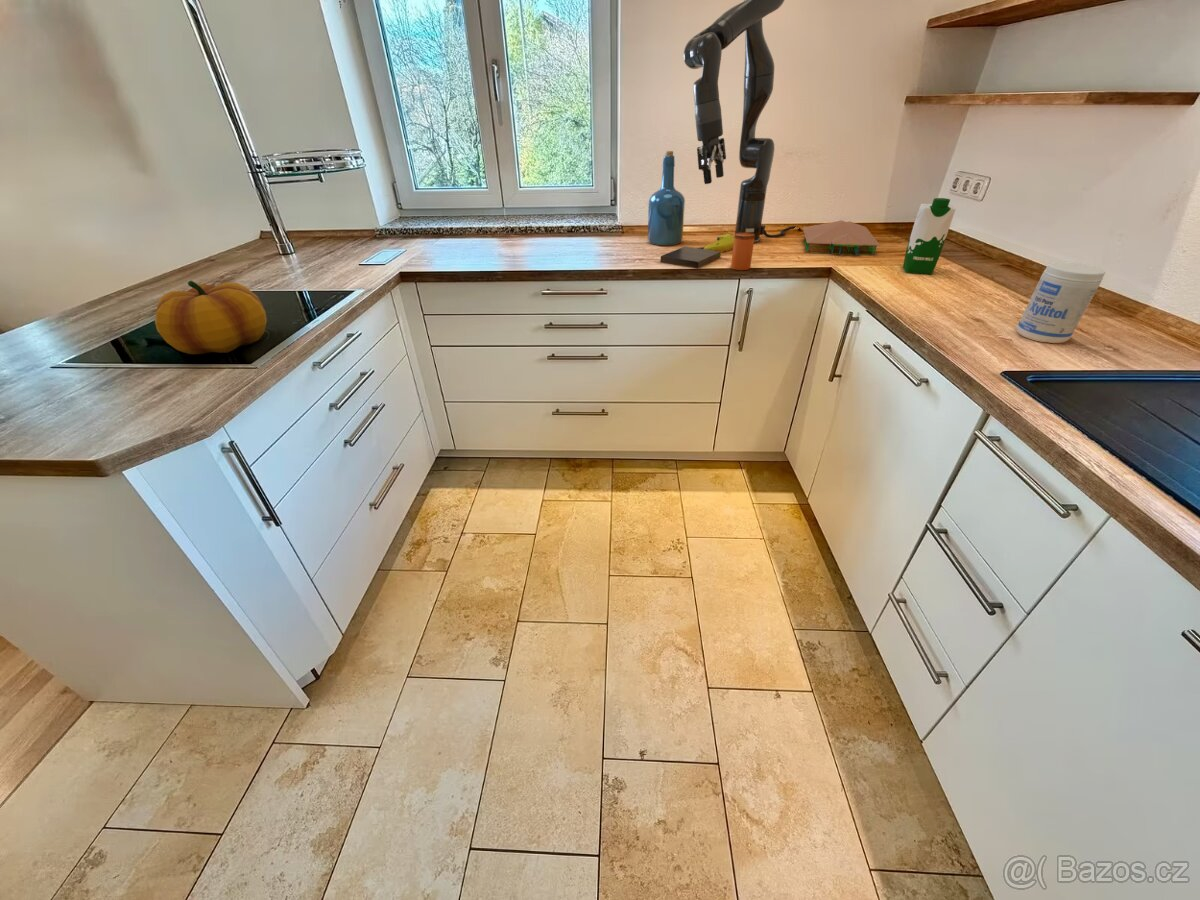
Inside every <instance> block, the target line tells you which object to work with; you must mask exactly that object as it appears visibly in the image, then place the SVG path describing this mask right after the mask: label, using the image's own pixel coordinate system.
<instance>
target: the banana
mask: <svg viewBox="0 0 1200 900" xmlns="http://www.w3.org/2000/svg"><path fill="white" fill-rule="evenodd" d="M734 236H735V235H732V234H731V233H724V234H723V235H720V236H718V237H717V239H716V241H715V242H712V243H709V244H707V245H705V246H700V247H698V248H699V249H706V250H713V251H721V253H725V252H728V251H731V249H733V245H734Z"/></svg>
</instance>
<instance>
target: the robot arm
mask: <svg viewBox="0 0 1200 900" xmlns="http://www.w3.org/2000/svg"><path fill="white" fill-rule="evenodd" d="M784 3H785V0H743V1H742V2H740V3H738V4H736V5H734V6H732V7H730V8H729V9H728V10H726V11H724V12H723V13H722V14H721V15H720V16H719V17H718V18H716V19H715V21H713V22H712V24H711V25H709V26H708V27H706V28H705V29H703V30H701V31H699V33H697V34H695V35H694V36H693V37H691V39H689V40H688V42H687V43H686V44H685V47H684V50H683V62H684V64H685V66H687V68H688V69H690V70H698V69H701V68H702V71H701V75H700V77H699V78H698V79H696V80H695V81H694V82H693V86H692V92H693V102H694V119H695V128H696V138H697V141H698V142H702V143H701V146H698V147H696V155H697V167H698V170H700V171H702V175H703V183H704V184H705V185H710V184H712V182H713V178H712V163H713V162H714V164H715V165H714V167H715V177H716V178H717V179H719V178H723V177H724V174H725V173H724V164H723V163H724V162H725V160H726V159H727V153H726V152H727V151H726V145H725V144H726V143H725V138H724V137H722V136H723V135H724V129H723V117H722V106H721V102H720V91H719V76H720V69H721V62H722V53H723V50H725V49H727V48H728V46H730V45H731V44H732V43H733V42H734V41H735V40H736V39H737V38H738V37H739V36H741V35H742V34H743V33H744V35H745V37H744V41H745V42H744V44H745V45H744V46H745V47H744V49H745V51H744V70H743V71H744V72H743V103H742V105H743V107H742V123H741V132H740V142H739V151H738V152H739V153H738V159H739V160H738V161H739V164H740V166H741V167H742V168H744V169H754V170H755V169H756V170H755V173H754V175H753V176H752V177H749V178H747V179H746V178H745V179H743V180H742V181H741V182H740V186H739V187H740V188H739V195H738V202H737V203H738V204H737V213H736V220H735V229H734V234H735V233H739V232H748V233H753V234H755V237H754V244H755V243H758V242H760V238H761V237H760V236H763V235H764V236H765V237H767V238H780V237H785V235H786V232H788V231H790V230H795V229H794V228H795V227H796V226H797V225H792V226H789V227H785V228H783V229H781V230H780V233H777V234H769V233H767V231H766V225H764V224H762V223H763V216H764V209H765V203H766V196H767V191H768V190H767V189H768V185H769V181H770V178H771V171H772V166H773V161H774V155H775V143H774V140H773V139H772V138H770V137H756V130H757V125H758V120H759V118H760V116H761V114H762V112H763V110H764V109H765V107H766V106H767V103H768V102H769V100H770V98H771V96H772V94H773V90H774V80H775V61H774V58H773V55H772V53H771V51H770V48H769V46H768V43H767V41H766V38H765V35H764V29H763V27H764V26H763V18H765V17H767V16H768V15H770V14H772V13H774V12H776V11H778V9H780V8H781V7H782V6H783V4H784ZM720 137H721V138H720ZM796 230H797V231H798V232H802V229H801V227H799V229H796Z"/></svg>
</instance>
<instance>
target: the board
mask: <svg viewBox="0 0 1200 900" xmlns="http://www.w3.org/2000/svg"><path fill="white" fill-rule="evenodd" d="M699 248H700V247H692V246H682V247H680V248H677V249H675V250H672V251H670V252H667V253H665V254H662V255H660V263H661V264H669V265H675V266H682V267H688V268H694V269H700V268H702V267H703V266H706V265H708V264H710V263H712V262H715V261H716V260H718V259H721V254H722V252H721V251H713V250H706V249H699Z"/></svg>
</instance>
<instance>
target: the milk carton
mask: <svg viewBox="0 0 1200 900" xmlns="http://www.w3.org/2000/svg"><path fill="white" fill-rule="evenodd" d="M950 202H951V199H950V198H946V197H945V198H944V197H935V198H933V200H932V203H920V206H919V208H918V211H917V214H916V216H915V221H914V223H913V227H912V230H911V234H910V236H909V240H908V243H907V246H906V250H905V254H904V259H903V265H902V268H903V270H904V271H905V273H906V274H918V275H919V274H920V275H921V274H922V275H933V274H934V273H933V272H934V271H935V268H936V266H937V263H938V261H939V259H940V257H941V254H942V250H943V248H944V244H945V242H946V239H947V236H948V233H949V230H950V227H951V224H952V221H953V218H954V215H955V212H956V208H955V207H954V205H951V204H950Z"/></svg>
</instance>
